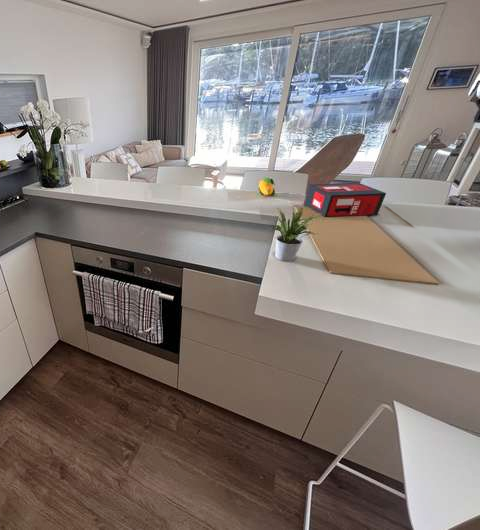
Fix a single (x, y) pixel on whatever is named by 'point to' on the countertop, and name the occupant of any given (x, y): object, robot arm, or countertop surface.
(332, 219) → the mat
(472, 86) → the robot arm
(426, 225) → the countertop surface
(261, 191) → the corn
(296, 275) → the countertop surface
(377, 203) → the cleaning product box
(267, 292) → the countertop surface
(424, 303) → the countertop surface
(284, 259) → the house plant
